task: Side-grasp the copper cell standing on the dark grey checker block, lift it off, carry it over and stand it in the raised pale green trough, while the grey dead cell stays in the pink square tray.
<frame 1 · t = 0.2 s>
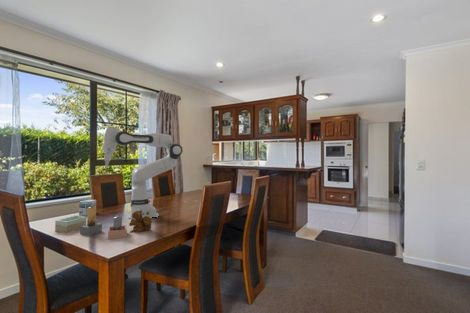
hand: (106, 167, 179), 39 cm above the table, tool pointing down, fingers open, 8 cm apart
trough: (71, 228, 156), on the table
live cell: (91, 225, 148), point 5 cm above the table, touching cradle
stuffed squirrel: (141, 231, 155), on the table
light bulb box: (87, 214, 195), on the table
cradle: (91, 233, 148), on the table
pink square tray: (117, 236, 143), on the table
dead cell: (117, 235, 143), point 1 cm above the table, touching pink square tray
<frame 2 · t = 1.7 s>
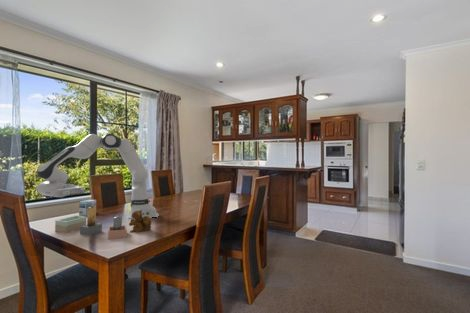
hand: (76, 192, 151), 24 cm above the table, tool horizontal, fingers open, 8 cm apart
nothing on the table moved.
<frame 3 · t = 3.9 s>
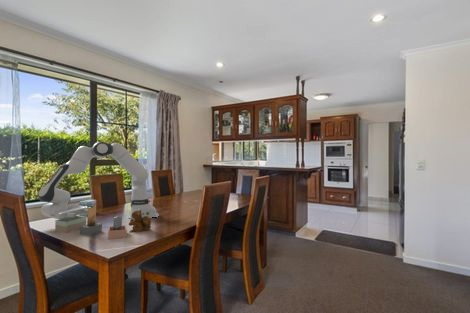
hand: (81, 213, 150), 11 cm above the table, tool horizontal, fingers open, 8 cm apart
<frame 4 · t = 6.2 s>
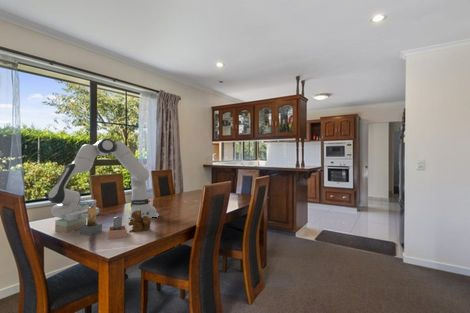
hand: (92, 214, 148), 12 cm above the table, tool horizontal, fingers closed on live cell, 4 cm apart
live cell: (91, 225, 148), point 5 cm above the table, touching cradle, gripper
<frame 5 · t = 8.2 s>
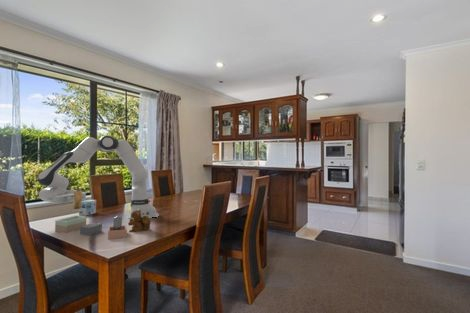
hand: (78, 198, 153), 20 cm above the table, tool horizontal, fingers closed on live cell, 4 cm apart
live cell: (77, 208, 153), point 14 cm above the table, touching gripper
when the fingers open (11 cm above the table, at t = 10.6 s): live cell stays where it is, resting on trough.
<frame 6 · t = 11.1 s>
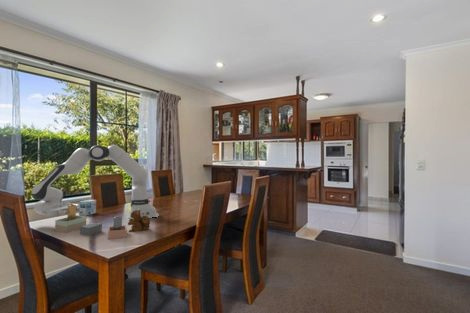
hand: (72, 211, 155), 11 cm above the table, tool horizontal, fingers open, 8 cm apart
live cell: (71, 222, 156), point 4 cm above the table, touching trough
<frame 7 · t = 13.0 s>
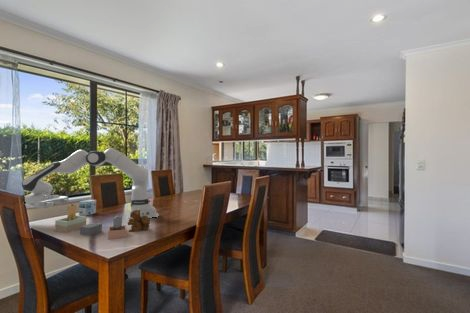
hand: (60, 202, 160), 16 cm above the table, tool horizontal, fingers open, 8 cm apart
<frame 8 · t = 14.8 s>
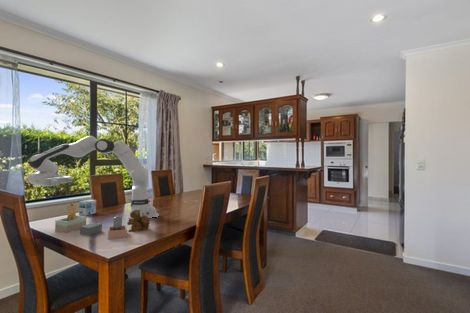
hand: (64, 180, 161), 30 cm above the table, tool horizontal, fingers open, 8 cm apart
at the end: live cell 0.0 cm from the trough (horizontally); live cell tilted 0°; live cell point 4.0 cm above the table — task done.
